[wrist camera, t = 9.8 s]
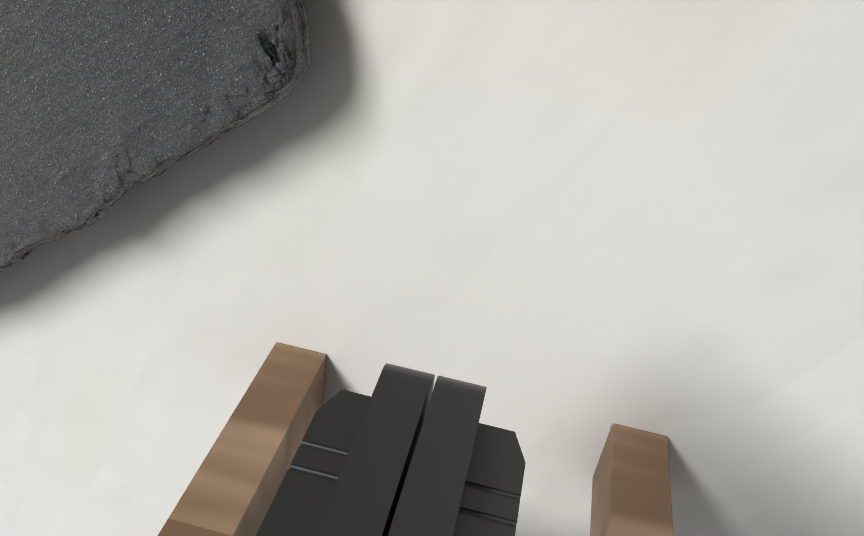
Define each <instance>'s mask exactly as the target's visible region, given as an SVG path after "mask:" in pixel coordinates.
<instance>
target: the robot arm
mask: <svg viewBox="0 0 864 536" xmlns="http://www.w3.org/2000/svg"><path fill="white" fill-rule="evenodd" d="M434 378H435V375H433V374H429V373H425V372H421V371H417V370H412V369H408V368H404V367H400V366H396V365H392V364H385V366H384V368H383V370H382V372H381V375H380V377H379V379H378V382H377V384H376V387H375V389H374V392H373V394H372V397H370V396H366V395H362V394H358V393H354V392H350V391H346V390H341V391H340V392H339V393H337V394H336V395H335V396H334V397H333V398H331V399H330V400H329V401H328V402H327V403H325V404H324V405H323V406H322V407H320V408H319V409H318V410H317V411H316V412H315V415H314V417H313V419H312V421H311V423H310V425H309V427H308V429H307V431H306V433H305V435H304V437H303V439H302V444H301V445H299V448H298V450H297V452H296V454H295V456H294V458H293V460H292V462H291V466H290V469H288V470H287V472H286V474H285V476H284V478H283V481H282V483H281V485H280V487H279V489H278V491H277V493H276V495H275V497H274V499H273V501H272V503H271V505H270V507H269V509H268V511H267V513H266V516H265V518H264V520H263V522H262V524H261V526H260V528H259V530H258V532H257V534H256V536H515V531H516V523H517V517H518V510H519V504H520V496H521V490H522V483H523V476H524V469H525V460H524V457H523V454H522V451H521V448H520V446H519V443H518V440H517V437H516V434H515V432H513V431H509V430H505V429H501V428H497V427H493V426H489V425H485V424H481V423H479V419H480V414H481V410H482V406H483V401H484V397H485V392H486V388H487V387H484V386H480V385H476V384H472V383H467V382H463V381H459V380H455V379H451V378H447V377H442V376H438V377H437V380H436V383H435V386H434V389H433V385H434ZM432 391H433V393H432Z"/></svg>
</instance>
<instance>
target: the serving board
mask: <svg viewBox="0 0 864 536" xmlns="http://www.w3.org/2000/svg"><path fill="white" fill-rule="evenodd" d="M310 64H311V53H310V39H309V26H308V21H307V17H306V12H305V7H304V3H303V0H0V272H1V271H2V270H4V269H5V268H7V267H8V266H9V265H11V264H13V263H15V262H18V261H20V260H23V259H24V258H25V257H26V256H27V255H28V254H29V253H30V252H32V251H33V250H34V249H35V248H37V247H38V246H39V245H42V244H44V243H47V242H49V241H52V240H57V239H59V238H62V237H65V236H66V235H67V234H68V233H69V232H70V231H71V230H80V229H83V228H84V227H88V226H90V225H91V224H93V223H94V222H96V221H97V220H99V219H100V218H101V217H102V216H103V215H105V214H106V213H107V212H108V211H109V209H110V208H111V206H112V205H113V203H114V202H115V201H116V200H118V199H120V198H121V197H123V196H124V195H126V194H127V192H128V191H129V189H130V188H131V186H132V185H133V183H138V182H143V181H145V180H150V179H152V178H154V177H156V176H158V175H160V174H162V173H163V172H164V171H165V170H166V168H167V167H168V166H169V165H170V164H171V163H174V162H177V161H179V160H182V159H185V158H187V157H188V156H190V155H192V154H193V153H195V152H197V151H198V150H200V149H202V148H204V147H206V146H207V145H209V144H211V143H212V142H214V141H215V140H217V139H218V138H220V137H221V136H223V135H224V134H226V133H228V132H230V131H232V130H233V129H235V128H237V127H239V126H240V125H242V124H244V123H246V122H247V121H249V120H251V119H252V118H254V117H256V116H257V115H259V114H261V113H262V112H264V111H265V110H267V109H268V108H270V107H271V106H273V105H274V104H276V103H277V102H279V101H280V100H282V99H283V98H284V97H285V96H286V95H287V94H288V93H289V92H290V91H291V90H292V89H293V88H295V87H296V86H297V85H298V84H299V83H300V82H301V81H302V80H303V79H304V78H305V76H306V73H307V71H308V68H309V66H310Z"/></svg>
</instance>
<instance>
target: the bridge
mask: <svg viewBox="0 0 864 536" xmlns="http://www.w3.org/2000/svg"><path fill="white" fill-rule="evenodd" d="M325 363H326V354H322V353H318V352H314V351H310V350H306V349H301V348H297V347H293V346H289V345H285V344H281V343H277V342H276V344H275V345H274V347H273V349H272V350H271V352H270V354H269V355H268V357H267V358H266V360H265V362H264V363H263V365H262V367H261V368H260V370H259V372H258V373H257V375H256V376H255V378H254V380H253V381H252V383H251V385H250V386H249V388H248V389H247V391H246V393H245V394H244V396H243V398H242V399H241V401H240V403H239V404H238V406H237V407H236V409H235V411H234V412H233V414H232V416H231V417H230V419H229V420H228V422H227V424H226V425H225V427H224V429H223V430H222V432H221V434H220V435H219V437H218V438H217V440H216V442H215V443H214V445H213V447H212V448H211V450H210V451H209V453H208V455H207V456H206V458H205V460H204V461H203V463H202V465H201V466H200V468H199V469H198V471H197V473H196V474H195V476H194V478H193V479H192V481H191V482H190V484H189V486H188V487H187V489H186V491H185V492H184V494H183V495H182V497H181V499H180V500H179V502H178V504H177V505H176V507H175V509H174V510H173V512H172V513H171V515H170V517H169V518H168V520H167V522H166V523H165V525H164V526H163V528H162V530H161V531H160V533H159V535H158V536H256V534H257V532H258V530H259V528H260V526H261V524H262V522H263V520H264V518H265V516H266V513H267V511H268V509H269V507H270V505H271V503H272V501H273V499H274V497H275V495H276V493H277V491H278V489H279V487H280V485H281V483H282V481H283V478H284V476H285V474H286V472H287V470H288V469H290V466H291V462H292V460H293V458H294V456H295V454H296V452H297V450H298V448H299V445H301V444H302V439H303V437H304V435H305V433H306V431H307V429H308V427H309V425H310V423H311V421H312V419H313V417H314V415H315V412H316V411H317V410H318V409H319V408H320V407H322V406H323V394H324V379H325ZM590 536H673V523H672V507H671V490H670V474H669V458H668V442H667V437H666V436H662V435H658V434H654V433H650V432H646V431H641V430H637V429H633V428H629V427H625V426H621V425H617V424H612V427H611V429H610V432H609V435H608V438H607V440H606V443H605V446H604V449H603V451H602V454H601V457H600V460H599V462H598V465H597V468H596V471H595V474H594V476H593V485H592V506H591V527H590Z"/></svg>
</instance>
